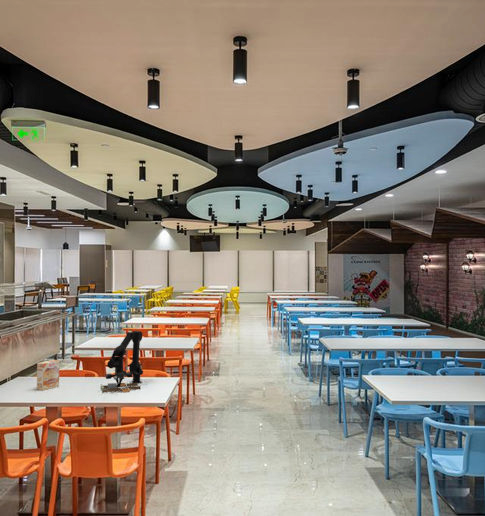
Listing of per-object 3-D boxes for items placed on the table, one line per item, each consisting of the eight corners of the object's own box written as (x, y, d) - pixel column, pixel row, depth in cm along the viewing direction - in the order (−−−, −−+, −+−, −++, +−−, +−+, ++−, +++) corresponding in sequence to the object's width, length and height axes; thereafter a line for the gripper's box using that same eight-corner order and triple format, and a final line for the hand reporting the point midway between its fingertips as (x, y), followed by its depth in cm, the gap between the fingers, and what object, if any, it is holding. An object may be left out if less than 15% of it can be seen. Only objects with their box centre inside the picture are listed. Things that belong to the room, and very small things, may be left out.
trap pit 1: (118, 385, 367) (118, 383, 367) (125, 384, 368) (125, 382, 368) (119, 386, 362) (119, 384, 362) (126, 386, 364) (126, 384, 364)
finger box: (100, 388, 357) (100, 384, 357) (137, 385, 367) (137, 381, 367) (102, 392, 345) (102, 388, 345) (140, 389, 355) (140, 385, 355)
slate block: (108, 388, 357) (108, 383, 357) (116, 388, 358) (116, 383, 358) (107, 390, 351) (107, 385, 351) (115, 390, 352) (116, 384, 352)
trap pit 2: (121, 390, 350) (121, 388, 350) (128, 390, 352) (128, 388, 352) (122, 392, 345) (122, 390, 345) (129, 391, 347) (129, 389, 347)
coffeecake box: (43, 390, 350) (43, 363, 350) (36, 389, 353) (36, 362, 353) (59, 386, 363) (59, 360, 363) (52, 385, 366) (53, 359, 367)
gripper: (107, 368, 345) (107, 390, 344) (133, 367, 352) (133, 388, 351) (105, 366, 355) (105, 387, 355) (131, 364, 362) (131, 385, 362)
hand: (118, 387), depth 355 cm, fingers closed
